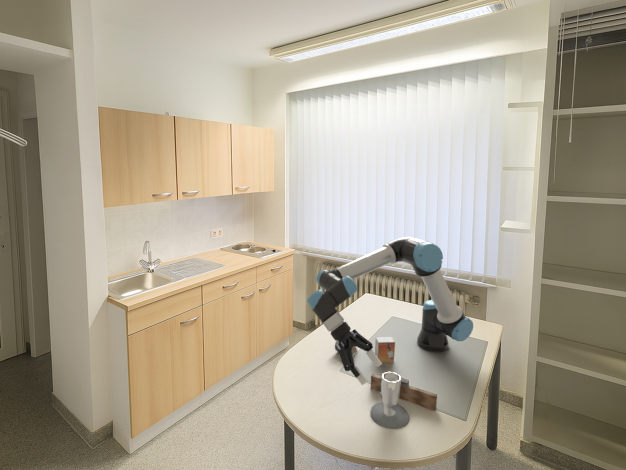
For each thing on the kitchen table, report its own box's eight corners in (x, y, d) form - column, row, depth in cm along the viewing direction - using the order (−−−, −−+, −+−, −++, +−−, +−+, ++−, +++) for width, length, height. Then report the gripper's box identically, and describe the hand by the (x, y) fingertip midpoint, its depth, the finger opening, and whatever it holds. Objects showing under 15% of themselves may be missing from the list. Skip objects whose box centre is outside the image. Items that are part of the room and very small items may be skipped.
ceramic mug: (346, 360, 175) (346, 345, 174) (334, 353, 181) (334, 338, 180) (361, 353, 182) (362, 338, 180) (349, 347, 188) (350, 332, 186)
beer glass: (377, 408, 141) (379, 371, 138) (395, 407, 141) (397, 371, 138) (382, 420, 134) (384, 383, 131) (401, 419, 134) (403, 382, 131)
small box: (377, 363, 172) (378, 342, 170) (374, 357, 178) (375, 336, 176) (394, 363, 173) (395, 342, 171) (390, 356, 178) (392, 336, 176)
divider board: (370, 389, 153) (370, 371, 152) (372, 386, 155) (373, 368, 154) (434, 411, 140) (436, 392, 138) (436, 408, 142) (437, 389, 140)
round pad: (404, 403, 145) (404, 401, 144) (413, 428, 131) (413, 427, 131) (368, 402, 145) (368, 401, 145) (373, 427, 131) (373, 426, 131)
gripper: (345, 319, 155) (378, 363, 151) (314, 344, 134) (351, 395, 130) (357, 310, 151) (391, 354, 147) (327, 334, 131) (365, 387, 126)
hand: (372, 374), depth 138 cm, fingers open, 13 cm apart
